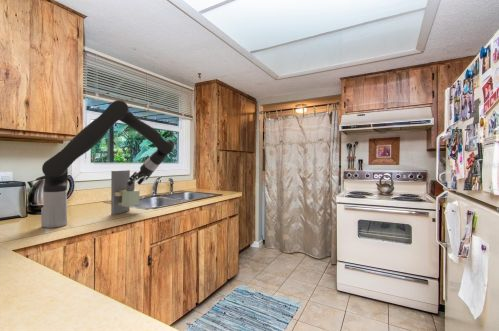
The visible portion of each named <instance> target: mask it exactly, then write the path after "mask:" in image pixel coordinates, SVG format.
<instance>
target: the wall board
mask: <svg viewBox="0 0 499 331" xmlns="http://www.w3.org/2000/svg"><path fill="white" fill-rule="evenodd" d="M110 172H111V175H110V176H111V179H110V180H111V182H110V183H111V184H110V185H111V188H110V189H111V190H110V191H111V192H110V194H111V196H110V198H111V199H110V200H111V201H110V203H111V204H110V205H111V207H110V209H111V210H110V212H111V214H110V215H117V214H120V213H121V214H122V213H124V212H129V211H130V209H131V208H130V207H125V206H121V205H118V203H119V202H122V192H119V190H125V189H126V186H127V181H130V179H129V178H130V177H131V171H130V170H129V169H128V170H127V169H126V170H123V169H122V170H111V171H110Z"/></svg>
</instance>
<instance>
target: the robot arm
mask: <svg viewBox="0 0 499 331" xmlns="http://www.w3.org/2000/svg"><path fill="white" fill-rule="evenodd" d="M118 121H120V122H121V123H123V124H125V125H127V126H129V127H130V128H132V129H133V130H134V131H136V132H137V133H138V134H140V135H141V136H142V137H144V138H145V139H146V140H148V141H149V142H150V143H152V144H153V145H154V146H155V148H156V150H155V151H154V152H153V153H152V154H151V155H150V157H148V158H147V159H146V160H145V161H144V163H142V165H141V166H140V167H139V171H138V172H137V171H134V172H133V174H131V175H130V178H129V179H130V181H129V182H128V185H129V186H131V185H132V184H133V183H134V182H136V181H137V182H136V183H137V184H138V185H141V184H142V183H143V182H144V181H147V180H148V179H149V178H150V177H151V176H152V175H153V173H154V172H155V170H157V169H158V168H159V166H160V165H161V164H162V162H163V161H164V160H165V158H166V157H167V156H168V155H169V154H170V153H171V154H172V152H173V150H174V148H175V142H174V141H173V140H172V139H165V138H164V137H162V134H161V133H160V132H158V130H156V129H155V128H154V127H152V126H150V124H147V123H146V122H144V121H143V120H141V119H139V118H137V116H135V115H134V114H133V113H132V112H131V111H130V109H129V106H128V104H127V103H126V102H125V101H123V100H115V101H112V102H111V103H110V104H109V105H108V106H107V108H106V109H105V110H103V112H102V113H101V114H100V115H99V116H98V117H97V118H95V119H94V120H93V121H91V122H89V124H87V125H86V126H85V127H83V129H81V130H80V131H79V132H78V133H77V134H76V135H75V136H74V137H73V138H72V139H71V140H70V141H69V142H68V143H67V144H66V145H64V148H62V149H61V150H60V151H59V152H57V153H55V155H53V156H51V157H50V158H49V159H47V160H45V161H44V163H43V164H42V166H41V167H42V168H41V170H42V173H43V174H44V183H43V192H42V193H43V194H42V195H43V199H42V200H43V201H42V202H43V206H42V207H41V208H40V210H41V211H40V212H41V213H40V217H41V221H40V222H41V224H40V226H41V228H46V229H52V228H59V227H64V226H66V225H68V177H69V176H68V174H69V173H68V172H69V171H68V170H69V167H71V165H72V164H73V163H74V162H75V161H76V160H77V159H79V158H80V157H81V156H83V155H84V154H86V153H87V152H89V151H90V150H91V149H93V148H94V147H95V146H96V145H97V144H98V143H99V142H100V141H101V140H102V139H103V138H104V137H105V135H106V134H107V133H108V132H109V130H110V128H112V126H113V125H115V124H116V123H117V122H118Z"/></svg>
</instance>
